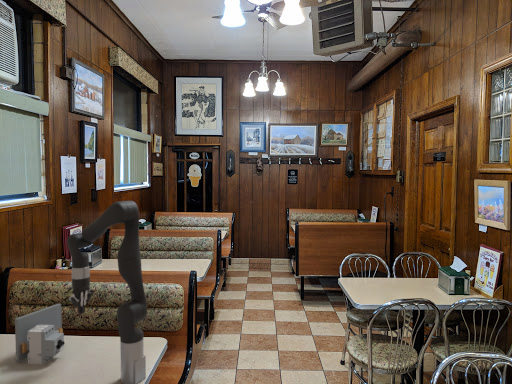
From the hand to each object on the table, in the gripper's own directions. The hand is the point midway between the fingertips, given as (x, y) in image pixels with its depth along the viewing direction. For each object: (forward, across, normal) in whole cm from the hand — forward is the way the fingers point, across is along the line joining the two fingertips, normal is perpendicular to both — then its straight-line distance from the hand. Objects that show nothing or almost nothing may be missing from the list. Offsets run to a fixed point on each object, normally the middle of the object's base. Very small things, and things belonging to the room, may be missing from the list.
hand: (81, 313), depth 170 cm
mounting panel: (+22, -2, +26) cm, 34 cm away
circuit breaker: (+22, -6, +15) cm, 28 cm away
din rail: (+18, -2, +24) cm, 30 cm away
